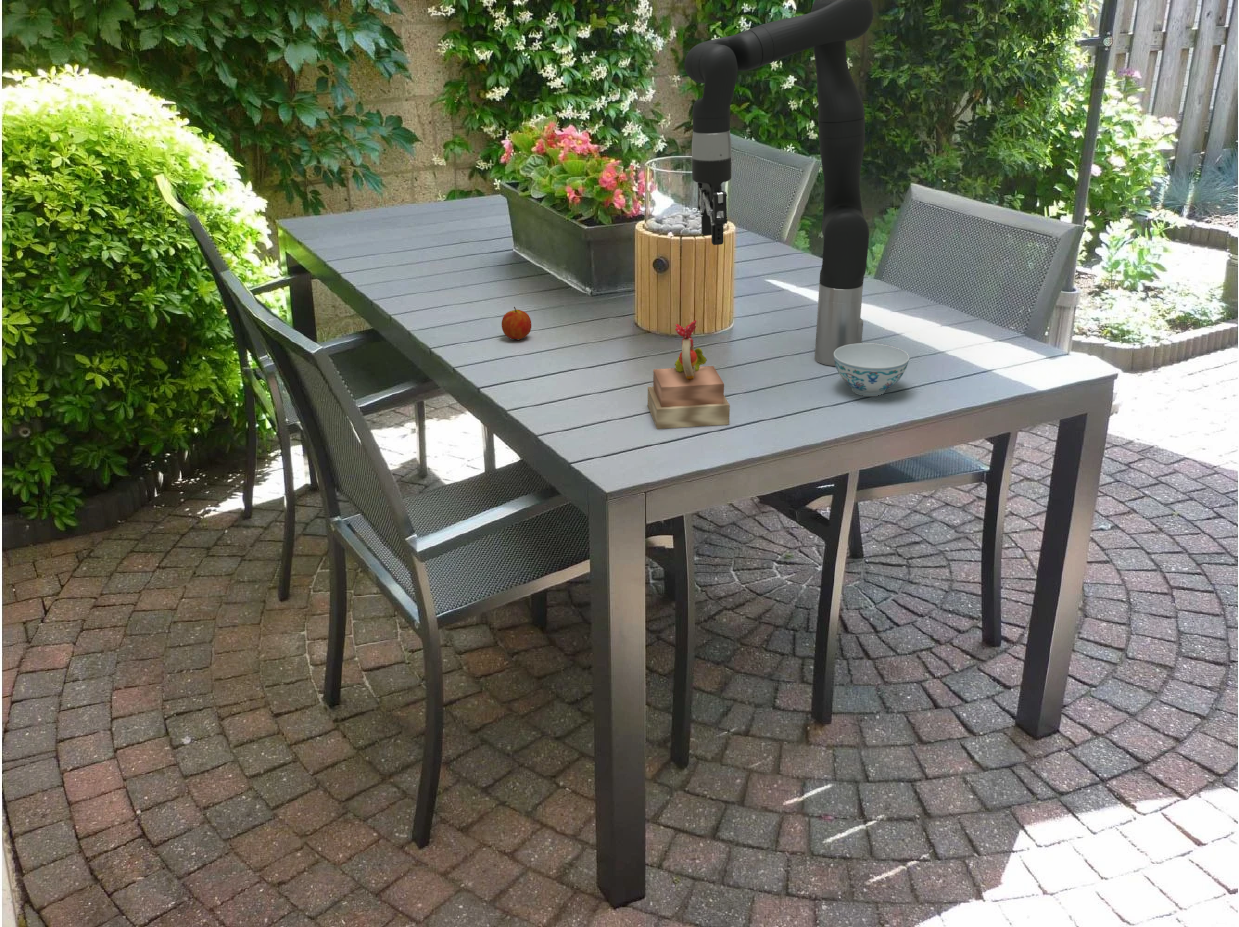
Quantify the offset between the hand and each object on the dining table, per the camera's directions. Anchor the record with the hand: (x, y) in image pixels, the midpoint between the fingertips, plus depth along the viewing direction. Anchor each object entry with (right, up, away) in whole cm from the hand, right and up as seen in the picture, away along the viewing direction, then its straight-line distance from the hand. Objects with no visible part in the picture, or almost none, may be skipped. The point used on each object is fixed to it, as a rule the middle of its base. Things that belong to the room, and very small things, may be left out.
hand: (712, 239), depth 219 cm
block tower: (-5, -35, -1) cm, 35 cm away
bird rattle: (-5, -27, -4) cm, 28 cm away
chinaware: (+33, -29, +9) cm, 45 cm away
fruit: (-42, -15, +42) cm, 62 cm away
